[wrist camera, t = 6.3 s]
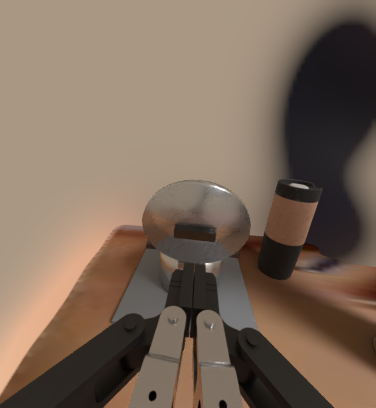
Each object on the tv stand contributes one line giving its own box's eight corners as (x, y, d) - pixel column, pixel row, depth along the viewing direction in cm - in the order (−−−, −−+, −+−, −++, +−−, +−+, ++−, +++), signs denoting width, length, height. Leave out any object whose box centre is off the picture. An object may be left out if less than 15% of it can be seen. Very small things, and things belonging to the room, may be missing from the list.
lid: (261, 183, 20) (267, 195, 18) (235, 263, 28) (236, 278, 27) (140, 171, 21) (133, 182, 19) (149, 254, 29) (145, 267, 27)
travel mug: (250, 266, 43) (271, 181, 35) (264, 253, 48) (285, 177, 41) (285, 286, 38) (317, 192, 30) (297, 270, 43) (327, 185, 36)
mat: (235, 251, 48) (235, 250, 48) (259, 341, 27) (260, 339, 27) (149, 242, 49) (149, 240, 48) (111, 323, 28) (111, 321, 28)
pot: (226, 261, 43) (233, 226, 40) (236, 311, 31) (246, 268, 28) (156, 253, 44) (156, 219, 40) (138, 300, 32) (137, 256, 28)
